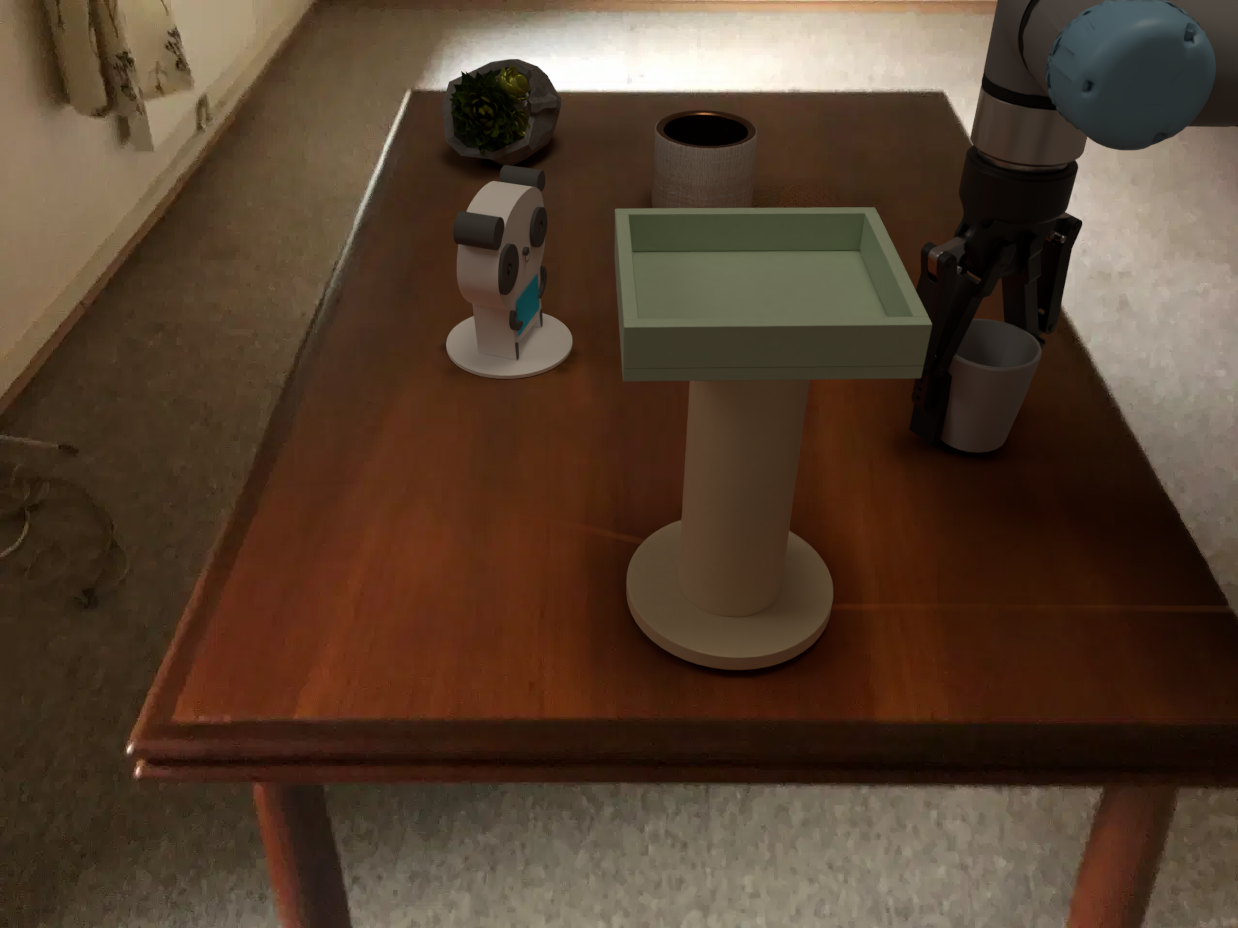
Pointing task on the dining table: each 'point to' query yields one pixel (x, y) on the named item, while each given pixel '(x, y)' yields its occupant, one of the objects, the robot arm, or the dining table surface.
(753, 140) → the planter
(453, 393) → the dining table surface
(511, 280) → the panda figurine
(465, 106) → the potted plant
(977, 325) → the cup
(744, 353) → the tray
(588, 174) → the dining table surface
